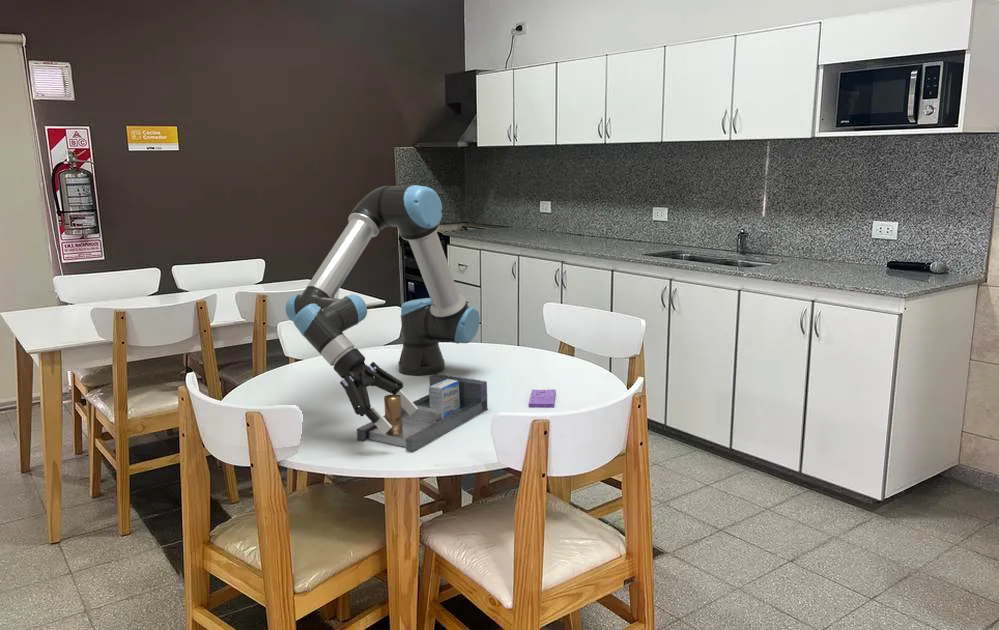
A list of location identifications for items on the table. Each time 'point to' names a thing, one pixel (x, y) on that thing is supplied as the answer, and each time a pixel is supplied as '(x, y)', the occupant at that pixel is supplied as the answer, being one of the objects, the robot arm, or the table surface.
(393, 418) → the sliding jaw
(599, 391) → the table surface
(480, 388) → the vise frame
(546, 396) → the sponges
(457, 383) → the medicine box
